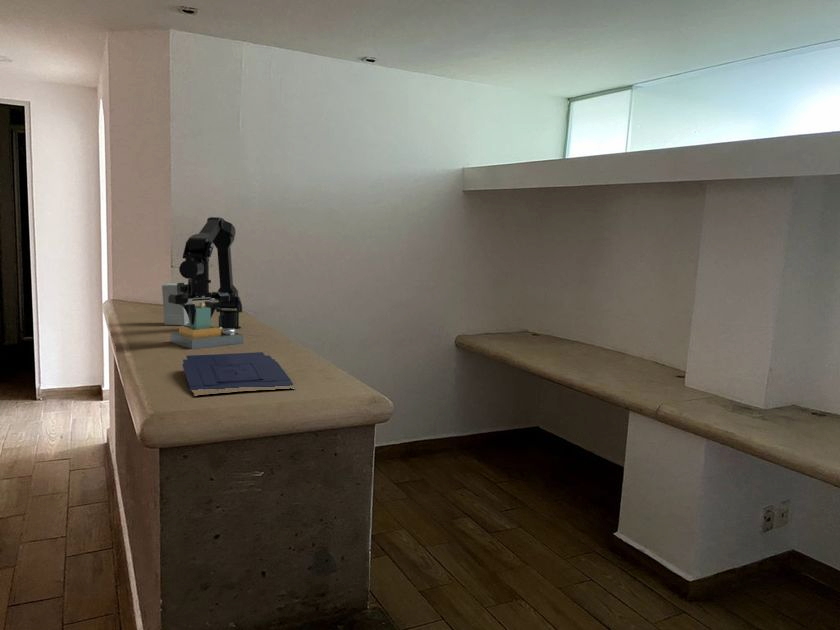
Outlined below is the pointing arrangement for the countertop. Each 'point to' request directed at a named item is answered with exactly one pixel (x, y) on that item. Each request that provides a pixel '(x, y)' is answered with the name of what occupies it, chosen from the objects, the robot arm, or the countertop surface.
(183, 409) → the countertop surface
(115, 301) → the countertop surface
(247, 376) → the dark blue book
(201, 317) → the spout can
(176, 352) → the countertop surface
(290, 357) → the countertop surface
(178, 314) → the skincare box
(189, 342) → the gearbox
